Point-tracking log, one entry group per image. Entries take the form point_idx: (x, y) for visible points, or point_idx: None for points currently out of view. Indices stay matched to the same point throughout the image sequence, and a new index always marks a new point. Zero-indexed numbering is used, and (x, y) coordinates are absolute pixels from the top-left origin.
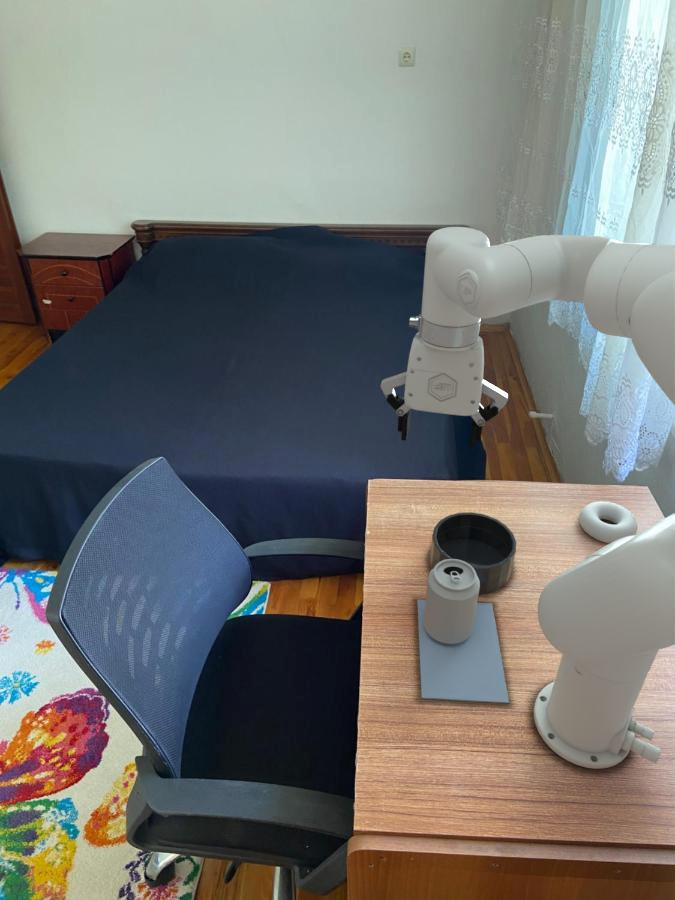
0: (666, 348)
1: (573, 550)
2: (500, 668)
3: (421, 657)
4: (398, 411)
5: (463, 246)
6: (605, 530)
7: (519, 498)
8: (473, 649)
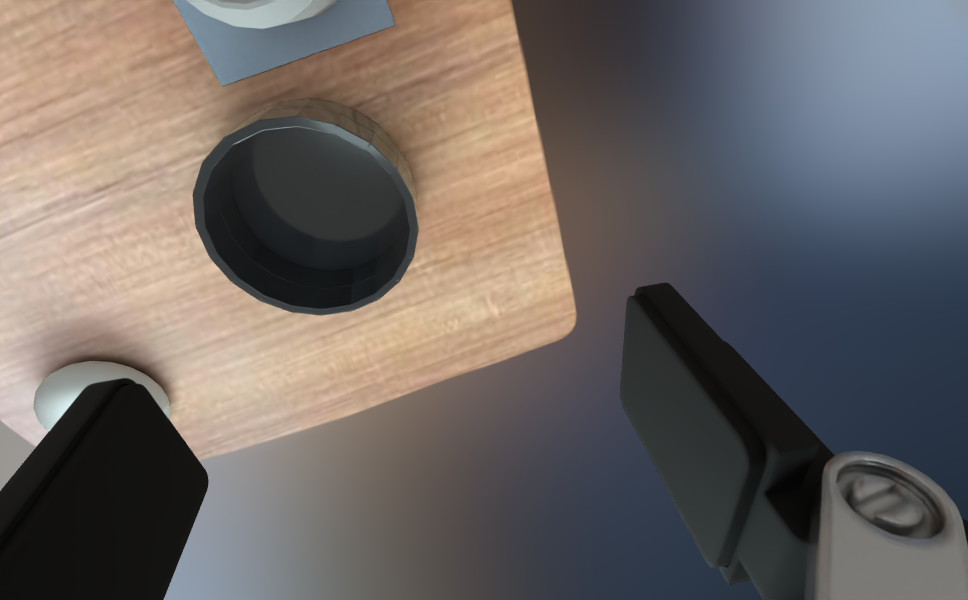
0: None
1: (142, 318)
2: None
3: None
4: (918, 502)
5: None
6: (81, 382)
7: (306, 404)
8: None
